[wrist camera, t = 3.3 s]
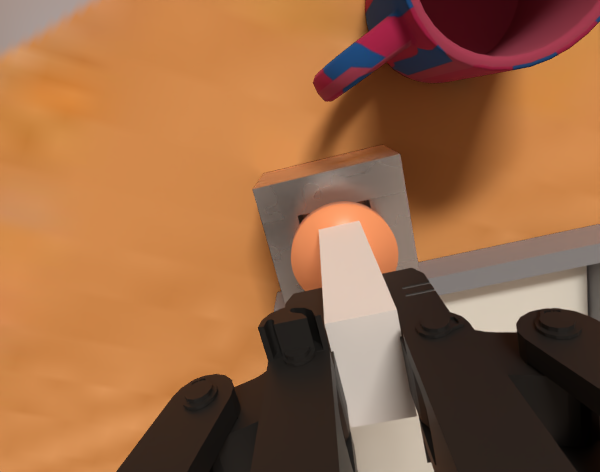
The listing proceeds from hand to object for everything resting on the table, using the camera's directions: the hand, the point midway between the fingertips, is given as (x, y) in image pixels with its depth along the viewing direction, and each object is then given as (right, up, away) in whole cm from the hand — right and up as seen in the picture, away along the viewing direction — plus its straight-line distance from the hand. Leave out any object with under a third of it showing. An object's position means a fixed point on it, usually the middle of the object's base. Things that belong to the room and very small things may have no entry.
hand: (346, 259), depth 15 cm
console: (0, +2, +6) cm, 6 cm away
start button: (0, +1, +3) cm, 4 cm away
